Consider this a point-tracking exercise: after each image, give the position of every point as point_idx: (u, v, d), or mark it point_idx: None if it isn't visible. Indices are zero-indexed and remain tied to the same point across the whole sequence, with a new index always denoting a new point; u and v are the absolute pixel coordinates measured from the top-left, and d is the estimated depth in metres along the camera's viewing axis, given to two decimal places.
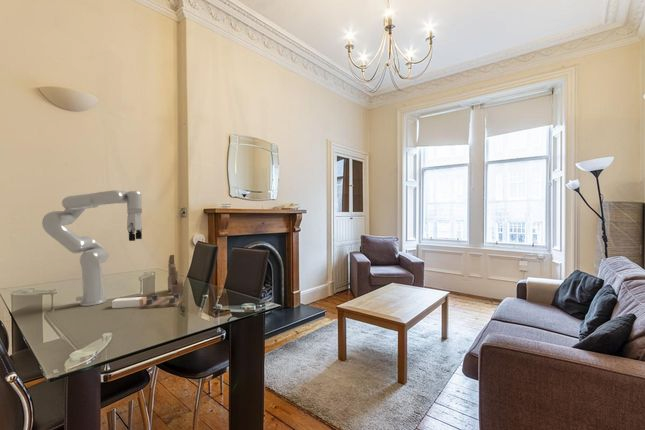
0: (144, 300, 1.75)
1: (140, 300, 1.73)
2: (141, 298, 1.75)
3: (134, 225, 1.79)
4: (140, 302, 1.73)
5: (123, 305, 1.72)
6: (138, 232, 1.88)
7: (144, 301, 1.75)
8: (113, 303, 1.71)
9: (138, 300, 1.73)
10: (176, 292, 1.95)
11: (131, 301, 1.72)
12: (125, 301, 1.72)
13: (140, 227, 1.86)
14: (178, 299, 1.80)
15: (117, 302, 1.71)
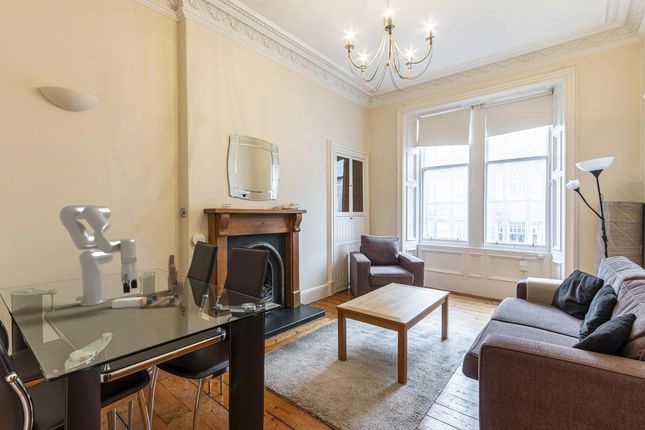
0: (144, 300, 1.75)
1: (140, 300, 1.73)
2: (141, 298, 1.75)
3: (128, 276, 1.69)
4: (140, 302, 1.73)
5: (123, 305, 1.72)
6: (133, 281, 1.78)
7: (144, 301, 1.75)
8: (113, 303, 1.71)
9: (138, 300, 1.73)
10: (176, 292, 1.95)
11: (131, 301, 1.72)
12: (125, 301, 1.72)
13: (135, 276, 1.76)
14: (178, 299, 1.80)
15: (117, 302, 1.71)
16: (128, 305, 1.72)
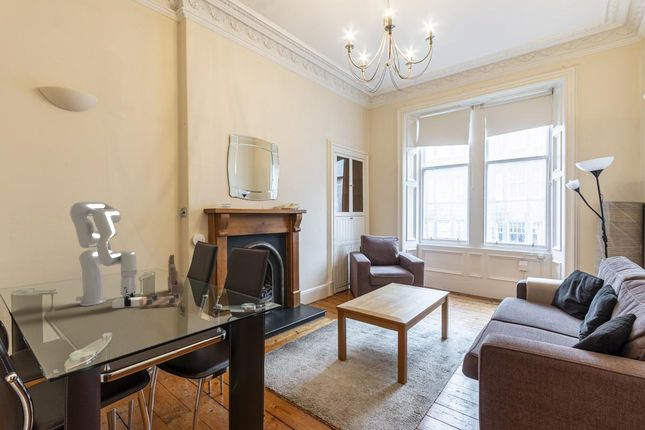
0: (144, 300, 1.75)
1: (140, 300, 1.73)
2: (141, 298, 1.75)
3: (128, 291, 1.70)
4: (140, 302, 1.73)
5: (123, 305, 1.72)
6: (131, 296, 1.77)
7: (144, 301, 1.75)
8: (113, 303, 1.71)
9: (138, 300, 1.73)
10: (176, 292, 1.95)
11: (131, 301, 1.72)
12: None
13: (135, 289, 1.77)
14: (178, 299, 1.80)
15: (117, 302, 1.71)
16: None
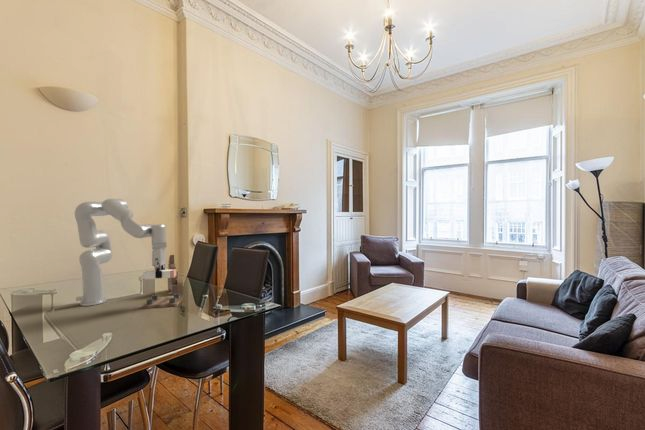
0: (174, 272, 1.78)
1: (171, 272, 1.76)
2: (171, 270, 1.77)
3: (159, 262, 1.72)
4: (171, 273, 1.76)
5: (154, 276, 1.74)
6: (161, 268, 1.79)
7: (174, 273, 1.78)
8: (145, 274, 1.73)
9: (169, 271, 1.75)
10: (176, 292, 1.95)
11: (162, 272, 1.75)
12: None
13: (165, 261, 1.79)
14: (178, 299, 1.80)
15: (148, 274, 1.74)
16: None
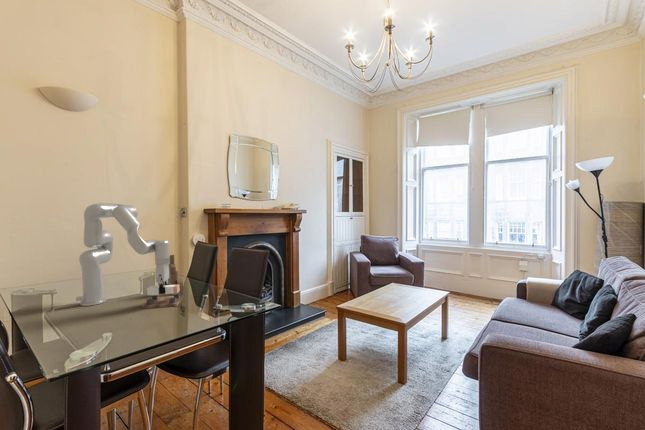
0: (178, 287, 1.78)
1: (174, 287, 1.76)
2: (175, 285, 1.78)
3: (163, 279, 1.73)
4: (174, 289, 1.76)
5: (158, 292, 1.75)
6: (165, 284, 1.80)
7: (178, 288, 1.78)
8: (148, 290, 1.74)
9: (172, 287, 1.76)
10: None
11: (165, 288, 1.75)
12: None
13: (168, 277, 1.80)
14: (178, 299, 1.80)
15: (151, 290, 1.74)
16: None
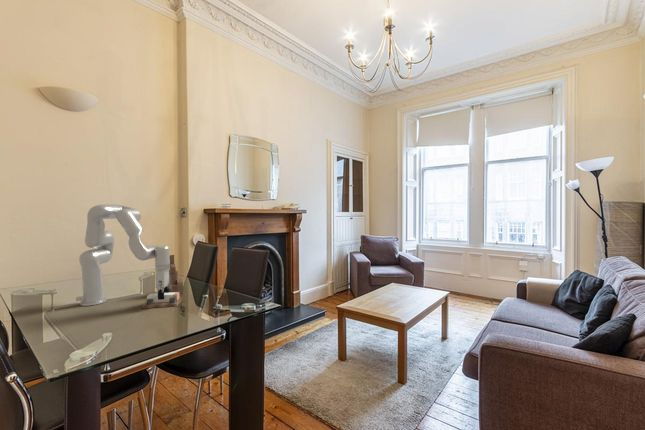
0: (177, 295, 1.79)
1: (174, 295, 1.76)
2: (174, 293, 1.78)
3: (163, 283, 1.73)
4: None
5: (157, 300, 1.75)
6: (165, 288, 1.82)
7: (177, 296, 1.79)
8: (148, 298, 1.74)
9: (172, 295, 1.76)
10: None
11: (165, 296, 1.76)
12: None
13: (168, 282, 1.80)
14: None
15: (151, 297, 1.74)
16: (162, 300, 1.75)
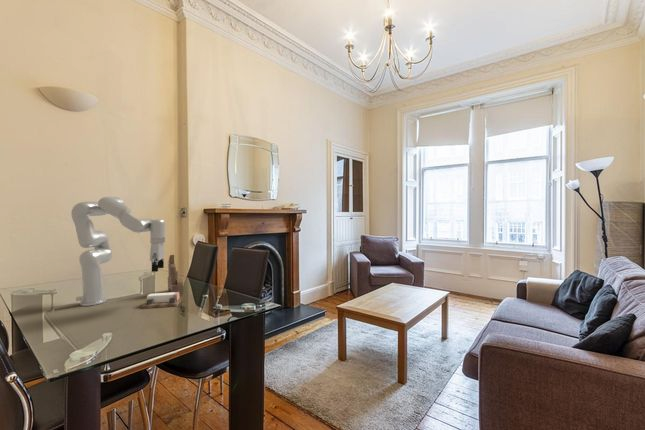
0: (177, 295, 1.79)
1: (174, 295, 1.76)
2: (174, 293, 1.78)
3: (157, 255, 1.73)
4: None
5: (157, 300, 1.75)
6: (160, 261, 1.82)
7: (177, 296, 1.79)
8: (148, 298, 1.74)
9: (172, 295, 1.76)
10: None
11: (165, 296, 1.76)
12: (159, 296, 1.75)
13: (163, 256, 1.80)
14: None
15: (151, 297, 1.74)
16: (162, 300, 1.75)
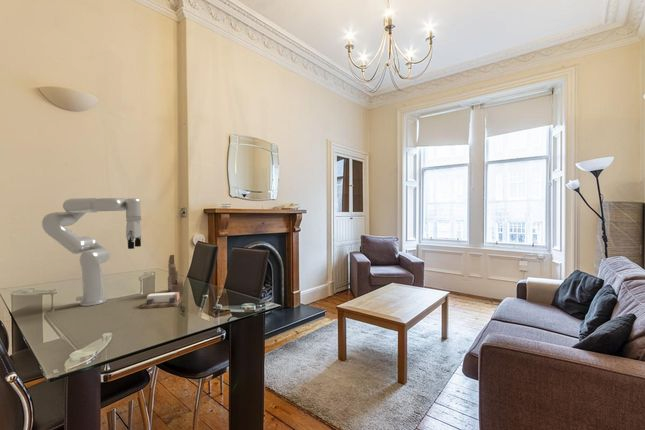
0: (177, 295, 1.79)
1: (174, 295, 1.76)
2: (174, 293, 1.78)
3: (133, 233, 1.77)
4: None
5: (157, 300, 1.75)
6: (137, 239, 1.87)
7: (177, 296, 1.79)
8: (148, 298, 1.74)
9: (172, 295, 1.76)
10: None
11: (165, 296, 1.76)
12: (159, 296, 1.75)
13: (139, 235, 1.85)
14: None
15: (151, 297, 1.74)
16: (162, 300, 1.75)
